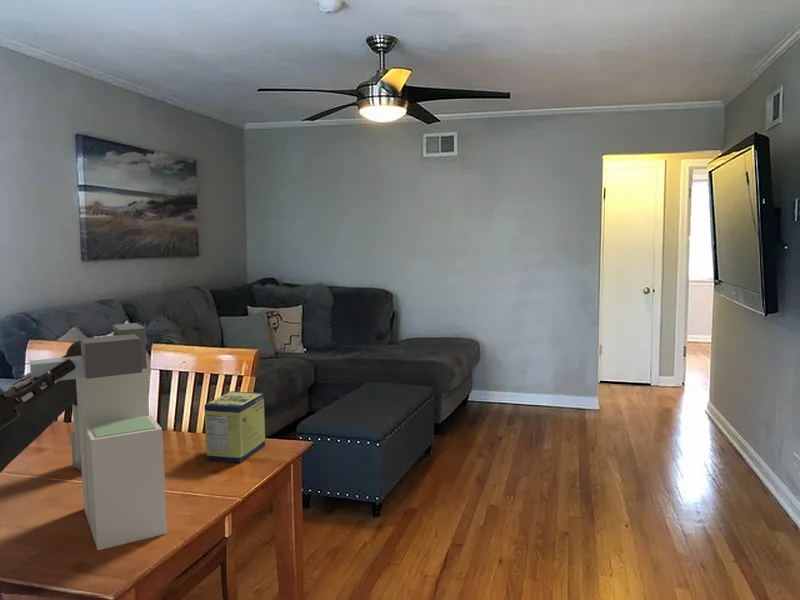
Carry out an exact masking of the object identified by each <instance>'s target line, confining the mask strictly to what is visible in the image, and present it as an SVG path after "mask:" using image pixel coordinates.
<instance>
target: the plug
mask: <svg viewBox="0 0 800 600" xmlns="http://www.w3.org/2000/svg"><path fill="white" fill-rule="evenodd" d="M80 341H81V355H82V356H73V357H63V356H62V357H63V358H61V357H53V358H44V359H33V360H29V369H30V372H31V377H34V376H36V375H37V376H40V375H42V374H44V373H45V372H46V371H49V370H50V371H51V369H53V368H54V367H56V366H58V365H59V364H61V363H62V362H64V361H65V360H67V359H70V360H71V361H72V362H73V363H74V365H75V366H76V368H75V369H74V370H73V371H71V372H70V373H68V374H66V375H65V376H63V377H62V378H60V379H58V378H57V380H58V381H61V380H70V379H79V378H86V379H90V378H98V377H107V376H116V375H124V374H133V373H141V372H142V360H141V341H140V338H139V337H137V336H136V335H135V334H130V335H118V336H113V335H110V336H108V335H107V336H97V337H84V338H80ZM51 372H52V371H51ZM42 382H43V383H44V381H42ZM32 383H34V381H32Z"/></svg>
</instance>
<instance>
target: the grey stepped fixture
mask: <svg viewBox="0 0 800 600" xmlns="http://www.w3.org/2000/svg"><path fill="white" fill-rule="evenodd" d="M112 334H113V335H112V336H118V335H130V334H135V335H136V336H137V337H139V338H140V341H141V360H142V372H141V373H133V374H124V375H116V376H107V377H98V378H90V379H86V378H79V379H76V388H77V404H78V420H79V436H80V453H81V469H82V471H81V480H82V481H81V483H82V498H83V499H82V501H83V510H84V514H85V516H86V519H87V522H88V525H89V529H90V531H91V534H92V537H93V541H94V543H95V546H96V551H102V550H106V549H109V548H113V547H114V548H115V547H118V546H121V545H125V544H129V543H130V544H131V543H134V542H138V541H142V540H146V539H150V538H155V537H159V536H162V535H167V534H168V523H167V522H168V521H167V502H166V499H167V498H166V481H165V463H164V462H165V460H164V458H165V457H164V442H163V441H164V438H163V437H164V436H163V428H162V427H161V426H160V424H159V423H158V422H157V421H156V420H155V419H154V417H153V416H152V415H150V405H149V403H150V402H149V386H148V385H149V384H148V366H147V365H148V363H147V347H146V346H147V345H146V344H147V342H146V328H145V327H144V326H143V325H140V324H139V323H137V322H132V323H123V324H122V323H118V324H112Z"/></svg>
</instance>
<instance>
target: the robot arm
mask: <svg viewBox="0 0 800 600" xmlns="http://www.w3.org/2000/svg"><path fill="white" fill-rule="evenodd" d="M66 350H67V351H66V353H65V354H64V355H63V356H60V358H63V357H73V356H82V355H81V340H77V341H75V342H74V343H72V344H70V345H69V347H68V348H67V349H66ZM75 368H76V366H75V365H74V363H73V362H72V361H71V360H70V359H67V360H65V361H64V362H62V363H61V364H59V365H58V366H56V367H54V368H53V369H51V371H52V372H51V371H50V370H49V371H46V372H45V373H44V374H42V375H40V376H37V375H36V376H34V377H31V371H30V372H29V373H27V374H24V375H22V376H20V377H18V378H17V379H16V380H15V381H14V382H12V383H11V385H12V386H11V387H10V388H8V390H3V388H2V387H1V386H0V474H1V473H2V472H3V471H4V470H5V469H6V468H7V466H9V464H10V463H12V462H13V461H14V459H16V458H17V457H18V456H19V455H20V454H21V453H22V452H23V451H25V449H26V448H28V447H29V446H30V445H31V444H32V443H33V442H35V440H36V439H38V438H39V437H40V436H41V435H42V434H43V433H44V432H45V431H46V430H47V429H48V428H49V427H50V426H51V425H52V424H53V423H54V422H55V421H56V420H57V419H58V418H59V417H60V416H61V415H62V414H63V413H64V412H65V411H66V410H67V409H68V408H69V407H70V406H71V405H72V406H71V407H72V418H73V431H71V432H70V442H71V445H70V446H71V457H72V458H71V460H72V468H74V469H77V470H78V471H81V472H82V469H81V453H80V436H79V420H78V404H77V388H76V379H70V380H61V381H58V380H57V378H58V379H60V378H62V377H63V376H65V375H66V374H68V373H70V372H71V371H73V370H74V369H75ZM32 381H34V383H32ZM42 381H44V383H43V382H42Z"/></svg>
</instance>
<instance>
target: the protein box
mask: <svg viewBox="0 0 800 600" xmlns="http://www.w3.org/2000/svg"><path fill="white" fill-rule="evenodd" d="M264 396H265V394H264V392H253V391H250V392H249V391H248V392H247V391H236V390H235V391H233V390H232V391H229V392H227V393H225V394H223V395H221V396H218V397H217V398H215V399H213V400H211V401H209V402H207V403H205V404H204V406H203V407H204V424H205V425H204V427H205V428H204V429H205V430H204V431H205V449H206V450H205V451H206V454H205V455H206V460H207V461H210V460H215V461H214V462H222V461H227V462H226V463H234V462H237V463H236V464H242V463H243V462H245V459H246V460H247V459H248V458H251V456H252V455H253V454H255V453H257V452H258V451H259V450H261V449H263V447H265V446H266V428H265V427H266V426H265V423H266V421H265V420H266V419H265V399H264V398H265V397H264ZM242 461H243V462H242Z"/></svg>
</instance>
